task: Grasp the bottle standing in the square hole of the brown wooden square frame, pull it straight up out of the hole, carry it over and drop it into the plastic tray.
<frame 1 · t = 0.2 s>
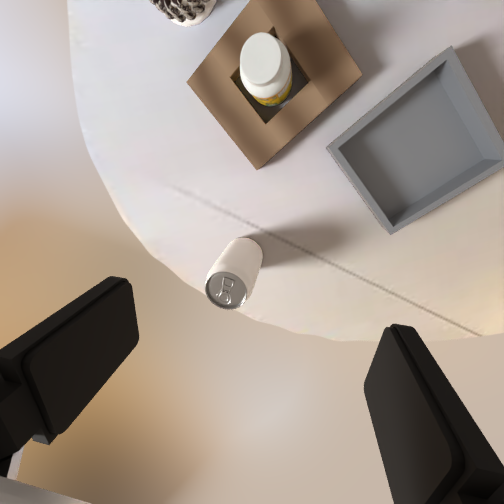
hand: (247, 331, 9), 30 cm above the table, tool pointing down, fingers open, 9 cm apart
brown wooden square frame: (271, 83, 31), on the table
tray: (404, 153, 32), on the table
can: (245, 253, 42), on the table
supplement bottle: (271, 84, 32), resting in brown wooden square frame
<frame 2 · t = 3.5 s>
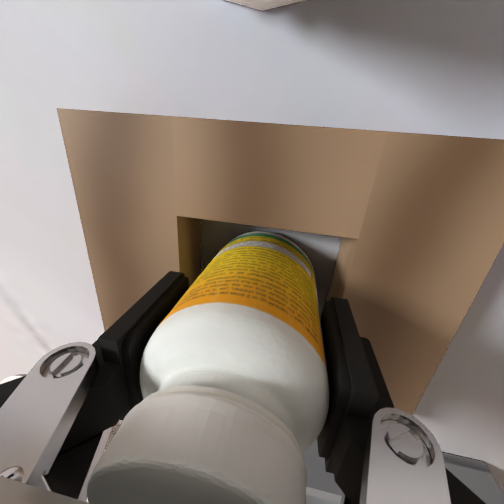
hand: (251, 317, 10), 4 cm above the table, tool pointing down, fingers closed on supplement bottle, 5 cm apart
brown wooden square frame: (263, 275, 13), on the table
tray: (341, 490, 19), on the table
supplement bottle: (263, 274, 13), resting in brown wooden square frame, touching gripper
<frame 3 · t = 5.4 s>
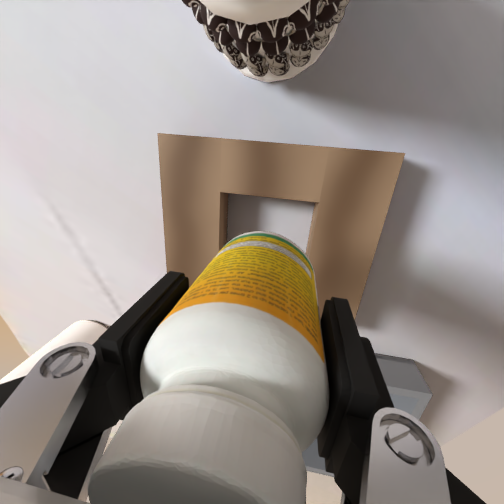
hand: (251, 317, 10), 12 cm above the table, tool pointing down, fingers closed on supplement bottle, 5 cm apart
brown wooden square frame: (266, 233, 21), on the table
tray: (321, 396, 27), on the table
decorative candle: (275, 2, 15), on the table
can: (97, 338, 29), on the table
supplement bottle: (263, 273, 13), point 8 cm above the table, touching gripper
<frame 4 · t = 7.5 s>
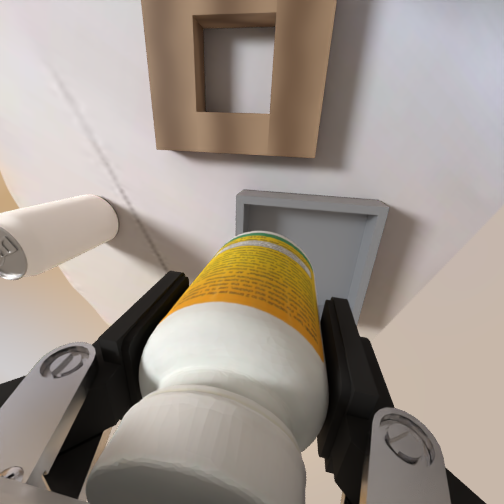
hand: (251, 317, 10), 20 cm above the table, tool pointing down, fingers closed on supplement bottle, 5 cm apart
brown wooden square frame: (239, 74, 23), on the table
tray: (300, 254, 29), on the table
can: (99, 217, 33), on the table
supplement bottle: (263, 273, 13), point 16 cm above the table, touching gripper
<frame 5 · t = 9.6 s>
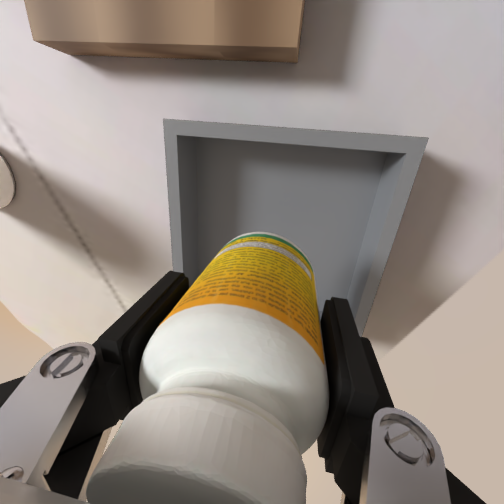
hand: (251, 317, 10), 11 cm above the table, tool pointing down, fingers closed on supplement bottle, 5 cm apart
tray: (276, 231, 19), on the table
supplement bottle: (263, 274, 13), point 7 cm above the table, touching gripper
when the fingers open (6 cm above the table, at t = 11.4 s): supplement bottle drops 2 cm, resting on tray.
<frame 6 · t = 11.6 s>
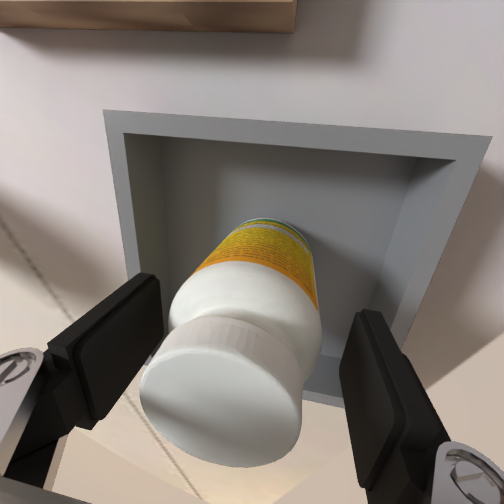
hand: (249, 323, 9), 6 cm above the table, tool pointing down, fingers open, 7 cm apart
tray: (268, 257, 15), on the table
supplement bottle: (266, 257, 15), resting on tray
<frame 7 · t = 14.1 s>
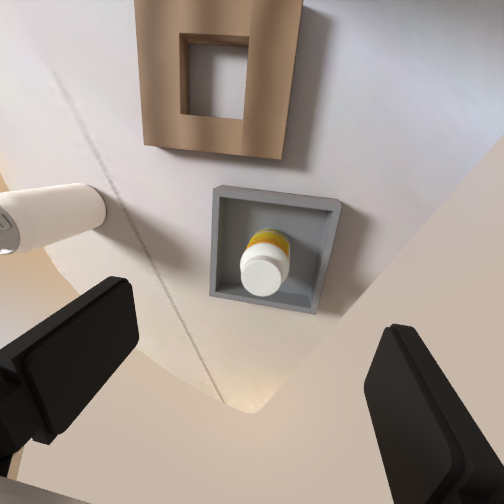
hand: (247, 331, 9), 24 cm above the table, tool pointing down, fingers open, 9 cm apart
brown wooden square frame: (219, 84, 27), on the table
tray: (270, 245, 33), on the table
can: (88, 205, 35), on the table
supplement bottle: (269, 245, 32), resting on tray
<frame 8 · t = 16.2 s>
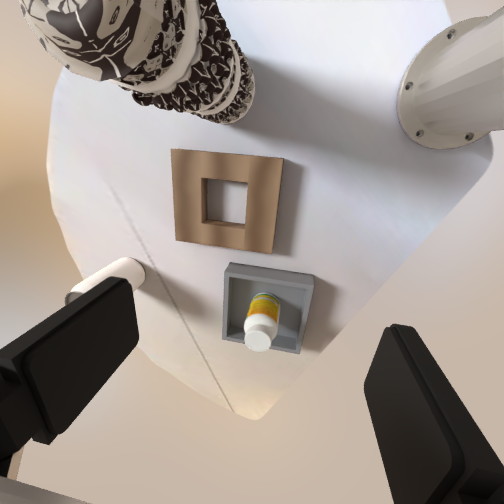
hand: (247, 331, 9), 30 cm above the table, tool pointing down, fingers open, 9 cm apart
brown wooden square frame: (228, 200, 38), on the table
tray: (266, 302, 45), on the table
decorative candle: (225, 89, 33), on the table
can: (131, 270, 48), on the table
supplement bottle: (266, 303, 44), resting on tray
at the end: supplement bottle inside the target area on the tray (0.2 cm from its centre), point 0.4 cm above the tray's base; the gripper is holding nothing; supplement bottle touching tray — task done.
